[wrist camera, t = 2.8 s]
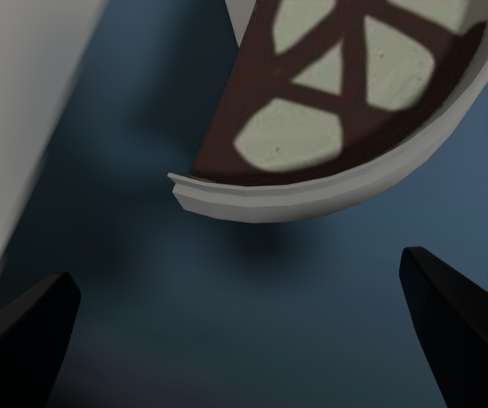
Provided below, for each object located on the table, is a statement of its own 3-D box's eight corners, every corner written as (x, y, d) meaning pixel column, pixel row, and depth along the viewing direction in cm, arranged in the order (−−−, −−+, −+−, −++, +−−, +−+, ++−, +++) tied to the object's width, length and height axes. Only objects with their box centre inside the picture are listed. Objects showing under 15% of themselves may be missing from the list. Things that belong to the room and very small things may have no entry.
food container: (346, 271, 16) (450, 312, 6) (227, 225, 17) (157, 199, 7) (428, 41, 17) (630, -235, 7) (311, 8, 18) (352, -278, 8)
